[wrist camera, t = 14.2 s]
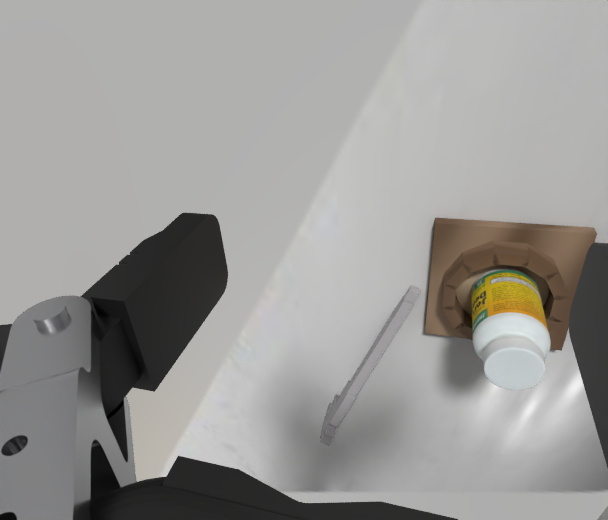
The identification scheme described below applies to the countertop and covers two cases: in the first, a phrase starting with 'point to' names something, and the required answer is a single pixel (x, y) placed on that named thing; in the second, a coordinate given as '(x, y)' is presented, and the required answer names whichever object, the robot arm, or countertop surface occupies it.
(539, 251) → the bottle holder
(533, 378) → the supplement bottle
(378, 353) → the caliper
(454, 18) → the countertop surface
